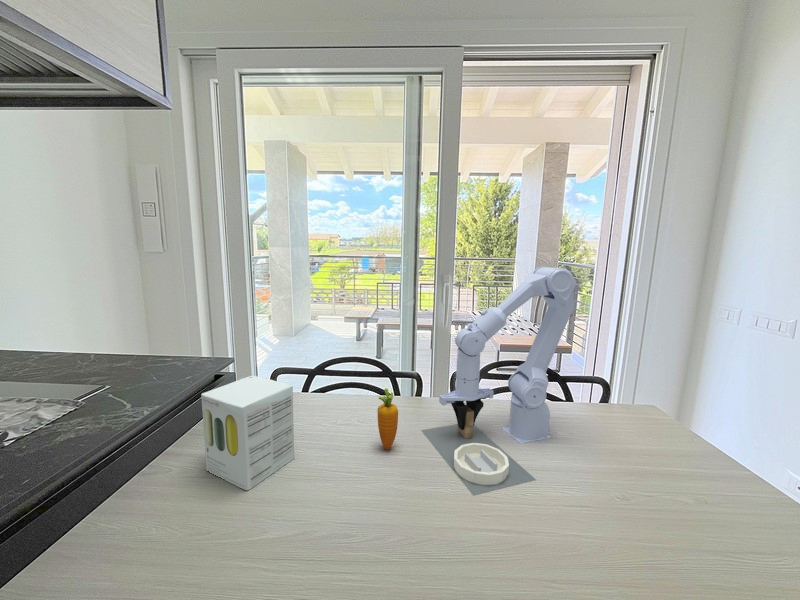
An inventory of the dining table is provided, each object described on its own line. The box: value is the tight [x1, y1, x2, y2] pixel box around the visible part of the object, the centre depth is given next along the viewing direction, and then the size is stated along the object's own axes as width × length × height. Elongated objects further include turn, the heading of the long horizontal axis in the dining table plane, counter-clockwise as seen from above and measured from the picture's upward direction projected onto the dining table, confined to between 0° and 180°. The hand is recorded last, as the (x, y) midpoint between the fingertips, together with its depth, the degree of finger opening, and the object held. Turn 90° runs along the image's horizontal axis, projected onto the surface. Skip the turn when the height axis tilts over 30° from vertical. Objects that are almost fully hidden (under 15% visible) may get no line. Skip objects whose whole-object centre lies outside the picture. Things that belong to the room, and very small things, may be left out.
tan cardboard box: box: [458, 404, 474, 439], centre depth 89 cm, size 2×4×7 cm, turn 19°
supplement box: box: [200, 374, 296, 491], centre depth 75 cm, size 13×13×18 cm
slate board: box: [420, 423, 537, 497], centre depth 82 cm, size 15×26×1 cm, turn 19°
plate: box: [454, 443, 509, 486], centre depth 76 cm, size 11×11×2 cm
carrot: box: [377, 387, 399, 451], centre depth 82 cm, size 5×5×15 cm
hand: (465, 427), depth 89 cm, fingers closed on tan cardboard box, 2 cm apart
